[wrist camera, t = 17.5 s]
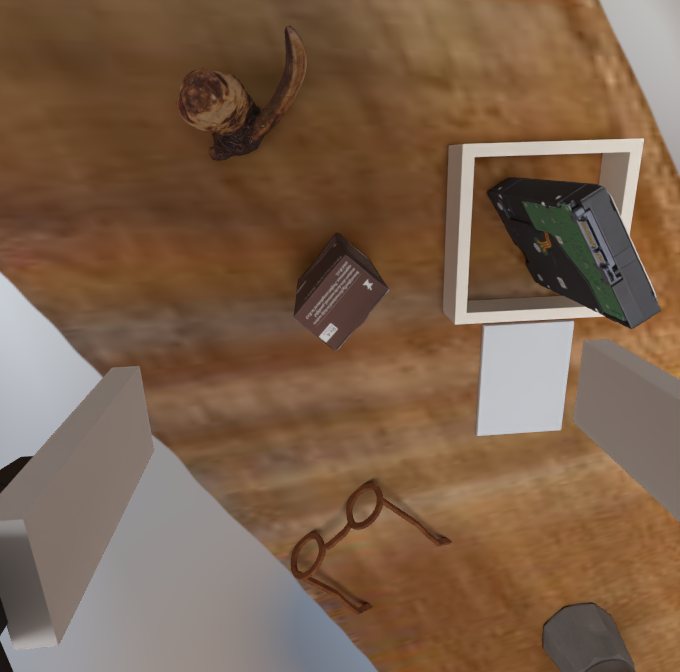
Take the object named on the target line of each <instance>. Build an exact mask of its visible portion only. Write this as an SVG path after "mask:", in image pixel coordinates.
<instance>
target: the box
mask: <svg viewBox="0 0 680 672" xmlns="http://www.w3.org/2000/svg"><path fill="white" fill-rule="evenodd" d="M388 292H389V288H388V287H387V285H386V284H385V283H384V281H383V280H382V278H381V276H380V275H379V273H378V272H377V270H376V268H375V267H374V265H373V264H372V262H371V261H370V260H369V259H368V258H367V257H366V256H365V255H364V254H362V253H361V252H360V251H359V250H358V249H357V248H355V247H354V246H353V245H351V244H350V243H349V242H348V241H347V240H345V239H344V238H343V237H342V236H341V235H340V234H339V233H336V234H335V235H334V237H333V238H332V239H331V241H330V242H329V243H328V244H327V246H326V247H325V248H324V250H323V251H322V252H321V253H320V255H319V256H318V257H317V258H316V260H315V261H314V262H313V264H312V265H311V266H310V267H309V268H308V270H307V271H306V272H305V273H304V274H303V275H302V276H301V278H300V279H299V280H298V285H297V294H296V303H295V311H294V319H296V320H297V321H298V322H300V323H301V324H302V325H303V326H305V327H306V328H307V329H308V330H310V331H311V332H312V333H313V334H315V335H316V336H317V337H318V338H320V339H321V340H322V341H323V342H324V343H326V344H327V345H328V346H329V347H330V348H332V349H333V350H334V351H336V350H338V349H339V348H340V347H341V346H342V344H343V343H344V342H345V341H346V340H347V339H348V337H349V336H350V335H351V334H352V333H353V332H354V330H355V329H357V328H358V327H359V326H360V325H361V324H362V323H363V322H364V321H365V320H366V319H367V317H368V315H369V314H370V312H371V311H372V310H373V309H374V307H375V306H376V305H377V304H378V303H379V302H380V301H381V299H382V298H383V297H384V296H385V295H386V294H387V293H388Z"/></svg>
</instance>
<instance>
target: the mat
mask: <svg viewBox="0 0 680 672" xmlns="http://www.w3.org/2000/svg"><path fill="white" fill-rule="evenodd" d="M573 328H574V321H573V320H558V321H540V322H522V323H503V324H485V325H482V341H481V356H480V372H479V388H478V404H477V420H476V435H477V436H483V435H497V434H511V433H526V432H540V431H554V430H561V425H562V417H563V409H564V400H565V392H566V384H567V376H568V368H569V360H570V352H571V344H572V336H573Z"/></svg>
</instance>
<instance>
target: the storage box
mask: <svg viewBox="0 0 680 672" xmlns="http://www.w3.org/2000/svg"><path fill="white" fill-rule="evenodd" d="M643 142H644V139H611V140H578V141H545V142H512V143H479V144H458V145H449V151H448V179H447V207H446V234H445V262H444V290H443V313H444V314H445V315H446V316H447V317H448V318H449V319H450V320H451V321H452V322H453V323H454V324H473V323H492V322H510V321H528V320H547V319H565V318H583V317H602V316H603V315H601V314H600V313H598V312H595V311H593V310H591V309H589V308H587V307H585V306H583V305H581V304H579V303H577V302H575V301H573V300H571V299H569V298H567V297H565V296H548V297H529V298H509V299H490V300H471V301H467V294H468V275H469V255H470V236H471V217H472V197H473V178H474V159H475V157H489V156H520V155H551V154H582V153H603V155H602V163H601V170H600V178H599V185H600V186H604V187H605V188H606V189H607V192H608V193H609V194H610V195H611V196H612V198H613V200H614V203H615V205H616V207H617V209H618V211H619V213H620V216H621V218H622V219H623V222H624V224H625V226H626V228H627V231H628V233H629V235H630V228H631V222H632V215H633V209H634V202H635V195H636V189H637V182H638V175H639V169H640V162H641V156H642V149H643Z"/></svg>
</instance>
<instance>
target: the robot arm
mask: <svg viewBox="0 0 680 672" xmlns="http://www.w3.org/2000/svg"><path fill="white" fill-rule="evenodd" d="M573 422H574V423H575V424H576V425H577V426H578V427H579V428H580V429H581V430H582V431H583V432H584V433H586V434H587V435H588V436H589V437H590V438H591V439H592V440H593V441H594V442H595V443H596V444H597V445H598V446H599V447H600V448H602V449H603V450H604V451H605V452H606V453H607V454H608V455H609V456H610V457H611V458H612V459H613V460H614V461H615V462H616V463H617V464H619V465H620V466H621V467H622V468H623V469H624V470H625V471H626V472H627V473H628V474H629V475H630V476H631V477H632V478H633V479H635V480H636V481H637V482H638V483H639V484H640V485H641V486H642V487H643V488H644V489H645V490H646V491H647V492H648V493H649V494H650V495H652V496H653V497H654V498H655V499H656V500H657V501H658V502H659V503H660V504H661V505H662V506H663V507H664V508H665V509H666V510H667V511H669V512H670V513H671V514H672V515H673V516H674V517H675V518H676V519H677V520H678V521H679V522H680V380H679V379H677V378H676V377H674V376H672V375H670V374H669V373H667V372H665V371H663V370H661V369H660V368H658V367H656V366H654V365H653V364H651V363H649V362H647V361H646V360H644V359H642V358H640V357H639V356H637V355H635V354H633V353H632V352H630V351H628V350H626V349H625V348H623V347H621V346H619V345H618V344H616V343H614V342H612V341H611V340H609V339H601V340H584V342H583V350H582V358H581V365H580V373H579V380H578V388H577V396H576V403H575V411H574V419H573ZM153 451H154V448H153V442H152V436H151V430H150V424H149V418H148V412H147V407H146V401H145V395H144V389H143V383H142V377H141V371H140V366H133V367H115V368H111V369H110V371H109V372H108V373H107V374H106V375H105V376H104V377H103V378H102V380H101V381H100V382H99V383H98V384H97V385H96V386H95V388H94V389H93V390H92V391H91V392H90V393H89V395H87V397H86V398H85V399H84V400H83V401H82V402H81V403H80V405H79V406H78V407H77V408H76V409H75V410H74V411H73V412H72V413H71V415H70V416H69V417H68V418H67V419H66V420H65V422H63V424H62V425H61V426H60V427H59V428H58V429H57V430H56V431H55V433H54V434H53V435H52V436H51V437H50V438H49V439H48V441H47V442H46V443H45V444H44V445H43V446H42V447H41V448H40V450H39V451H38V452H37V453H36V454H35V455H34V456H28V457H20V458H18V459H17V460H15V461H14V462H12V463H10V464H9V465H7V466H6V467H4V468H2V469H1V470H0V635H1V633H2V632H3V630H4V628H5V627H6V625H7V628H8V632H9V635H10V638H11V641H12V644H13V647H14V650H21V649H32V648H43V647H53V646H59V644H60V642H61V640H62V638H63V635H64V634H65V631H66V630H67V627H68V625H69V623H70V621H71V619H72V617H73V615H74V613H75V611H76V609H77V607H78V605H79V603H80V601H81V599H82V597H83V595H84V593H85V591H86V588H87V587H88V584H89V582H90V580H91V578H92V576H93V574H94V572H95V570H96V568H97V566H98V564H99V562H100V560H101V558H102V556H103V554H104V552H105V550H106V548H107V545H108V544H109V542H110V539H111V537H112V535H113V533H114V531H115V529H116V527H117V525H118V523H119V521H120V519H121V517H122V515H123V513H124V511H125V509H126V507H127V505H128V503H129V501H130V498H131V496H132V494H133V492H134V490H135V488H136V486H137V484H138V482H139V480H140V478H141V476H142V474H143V472H144V470H145V468H146V466H147V464H148V462H149V460H150V458H151V455H152V453H153ZM0 672H13V670H12V668H11V665H10V663H9V661H8V658H7V656H6V653H5V651H4V649H3V646H2V644H1V642H0Z"/></svg>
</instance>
